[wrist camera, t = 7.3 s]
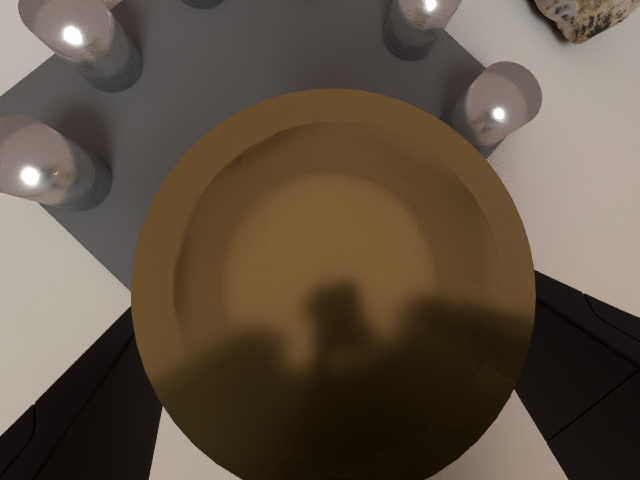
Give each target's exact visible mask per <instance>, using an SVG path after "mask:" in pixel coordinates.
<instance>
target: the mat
mask: <svg viewBox="0 0 640 480" xmlns="http://www.w3.org/2000/svg"><path fill="white" fill-rule="evenodd" d="M392 3H393V0H314V1H308V0H224V1H223V2H222V3H221V4H220V5H218V6H216V7H214V8H210V9H196V8H193V7H190V6H188V5H186V4H185V3H183V2H182V1H181V0H122V1H121V2H120V3H119V4H117V5H116V6H115V7H114V8H112V9H111V10H110V11H111V12H112V14H113V15H114V17H115V18H116V19H117V21H118V22H119V24H120V25H121V26H122V28H123V29H124V31H125V32H126V33H127V35H128V36H129V38H130V39H131V41H132V42H133V43H134V45H135V46H136V48H137V49H138V50H139V52H140V54H141V56H142V58H143V71H142V74H141V76H140V78H139V80H138V81H137V82H136V83H135V84H134V85H133V86H132V87H130V88H128V89H126V90H124V91H121V92H116V93H109V92H103V91H100V90H97V89H95V88H94V87H92V86H91V85H90V84H89V83H88V82H86V81H85V80H84V79H83V78H82V77H81V76H80V75H79V74H78V73H77V72H75V71H74V70H73V69H72V68H71V67H70V66H69V65H68V64H67V63H65V62H64V61H63V60H62V59H61V58H60V57H59V56H58V55H57V54H56V53H55V54H54V55H53V56H51V57H50V58H49V59H47V60H46V61H45V62H44V63H42V64H41V65H40V66H39V67H37V68H36V69H35V70H34V71H32V72H31V73H30V74H28V75H27V76H26V77H25V78H23V79H22V80H21V81H20V82H18V83H17V84H16V85H14V86H13V87H12V88H11V89H9V90H8V91H7V92H6V93H4V94H3V95H2V96H0V117H3V116H8V115H23V116H28V117H31V118H34V119H36V120H38V121H40V122H41V123H43V124H45V125H47V126H48V127H50V128H52V129H53V130H55V131H57V132H59V133H60V134H62V135H64V136H65V137H67V138H69V139H71V140H72V141H74V142H76V143H77V144H79V145H81V146H83V147H84V148H86V149H88V150H89V151H91V152H93V153H95V154H96V155H98V156H100V157H101V158H102V159H103V160H104V161H105V162H106V163H107V164H108V166H109V167H110V169H111V172H112V180H113V181H112V187H111V190H110V192H109V194H108V196H107V197H106V199H105V200H104V201H103V202H102V203H100V204H99V205H98V206H96V207H94V208H92V209H90V210H86V211H80V212H75V211H69V210H65V209H61V208H58V207H54V206H50V205H46V204H43V203H39V202H38V203H39V204H40V205H41V206H42V207H43V208H44V209H45V210H46V211H47V212H48V213H49V214H50V215H52V216H53V217H54V218H55V219H56V220H57V221H58V222H59V223H60V224H61V225H62V226H63V227H64V228H65V229H66V230H67V231H68V232H69V233H70V234H71V235H72V236H73V237H74V238H75V239H77V240H78V241H79V242H80V243H81V244H82V245H83V246H84V247H85V248H86V249H87V250H88V251H89V252H90V253H91V254H92V255H93V256H94V257H95V258H96V259H97V260H98V261H99V262H100V263H101V264H103V265H104V266H105V267H106V268H107V269H108V270H109V271H110V272H111V273H112V274H113V275H114V276H115V277H116V278H117V279H118V280H119V281H120V282H121V283H122V284H123V285H124V286H125V287H126V288H128V289H129V290H130V291H131V280H132V271H133V262H134V255H135V251H136V247H137V243H138V239H139V235H140V231H141V228H142V226H143V223H144V220H145V218H146V215H147V213H148V210H149V208H150V205H151V203H152V201H153V200H154V198H155V196H156V194H157V192H158V191H159V189H160V187H161V185H162V184H163V182H164V180H165V179H166V177H167V176H168V175H169V173H170V172H171V171H172V169H173V168H174V167H175V165H176V164H177V163H178V161H179V160H180V159H181V158H182V157H183V156H184V154H185V153H186V152H187V151H188V150H189V149H190V148H191V147H192V146H193V145H194V144H195V143H196V142H197V141H198V140H199V139H200V138H202V137H203V136H204V135H205V134H207V133H208V132H209V131H211V130H212V129H213V128H214V127H216V126H217V125H218V124H219V123H221V122H223V121H224V120H226V119H228V118H229V117H231V116H233V115H234V114H236V113H238V112H239V111H241V110H243V109H246V108H248V107H250V106H252V105H255V104H257V103H259V102H262V101H264V100H267V99H270V98H274V97H277V96H280V95H284V94H287V93H292V92H299V91H305V90H311V89H331V88H340V89H352V90H362V91H367V92H372V93H376V94H381V95H386V96H389V97H392V98H394V99H397V100H400V101H403V102H406V103H409V104H411V105H413V106H415V107H417V108H419V109H421V110H423V111H425V112H427V113H430V114H431V115H433V116H434V117H436V118H437V119H439V120H441V118H442V116H443V114H444V113H445V112H446V111H447V110H448V109H449V107H450V106H451V105H452V104H453V103H454V102H455V101H456V100H457V99H458V98H459V97H460V96H461V95H462V94H463V93H464V92H465V90H466V89H467V88H468V87H469V86H470V85H471V84H472V83H473V82H474V81H475V80H476V79H477V78H478V77H479V76H480V74H481V73H482V72H483V71H484V70H485V69H486V68H485V67H484V66H483V65H482V64H480V63H479V62H478V61H477V60H476V59H475V58H474V57H473V56H472V55H471V54H470V53H469V52H467V51H466V50H465V49H464V48H463V47H462V46H461V45H460V44H459V43H458V42H457V41H456V40H454V39H453V38H452V37H451V36H450V35H449V34H448V33H447V32H446V31H445V30H444V31H443V32H442V34H441V36H440V37H439V39H438V41H437V42H436V44H435V45H434V47H433V49H432V50H431V52H430V53H429V54H428V55H427V56H426V57H425V58H423V59H421V60H418V61H405V60H402V59H399V58H397V57H396V56H394V55H393V54H392V53H391V52H390V51H389V50H388V49H387V47H386V46H385V43H384V40H383V28H384V25H385V22H386V19H387V17H388V14H389V11H390V8H391V6H392ZM503 140H504V138H503V139H501V140H500V141H498V142H497V143H495V144H494V145H492V146H491V147H489V148H487V149H486V150H484V151H483V152H481V153H480V154H481V155H482V156H483V157H484V158H485V159H487V158H488V156H489V155H490V154H491V153H492V152H493V151H494V150H495V149H496V147H497V146H498V145H499V144H500V143H501V142H502V141H503Z"/></svg>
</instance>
